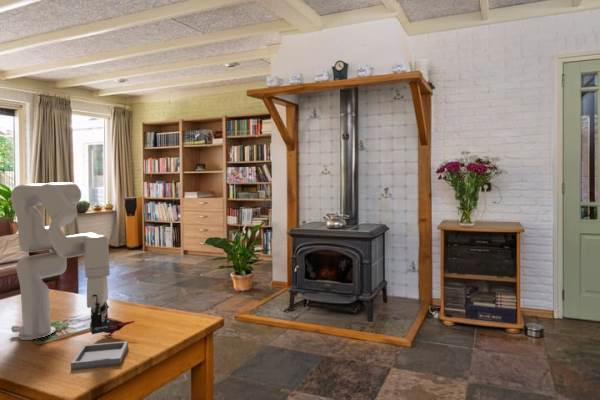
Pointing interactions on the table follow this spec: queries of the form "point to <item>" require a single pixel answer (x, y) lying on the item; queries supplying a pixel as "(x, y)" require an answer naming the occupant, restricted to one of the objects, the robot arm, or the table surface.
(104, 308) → the watch
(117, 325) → the decorative bird figurine
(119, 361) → the tray
